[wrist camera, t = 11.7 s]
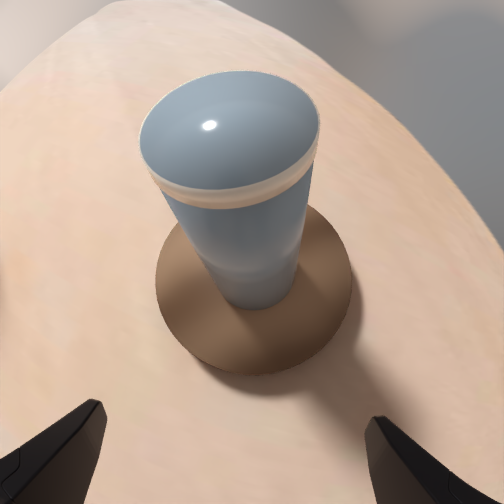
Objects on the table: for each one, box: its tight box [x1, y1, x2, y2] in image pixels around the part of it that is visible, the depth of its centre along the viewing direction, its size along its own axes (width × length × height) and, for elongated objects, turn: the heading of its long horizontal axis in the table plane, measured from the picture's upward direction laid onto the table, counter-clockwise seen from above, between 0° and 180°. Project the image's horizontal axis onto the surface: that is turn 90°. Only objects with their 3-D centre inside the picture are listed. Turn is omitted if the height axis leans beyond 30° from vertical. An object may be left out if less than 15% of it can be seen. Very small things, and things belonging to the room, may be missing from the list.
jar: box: [138, 70, 320, 310], centre depth 14 cm, size 5×5×12 cm
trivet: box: [156, 204, 352, 375], centre depth 21 cm, size 13×13×2 cm
